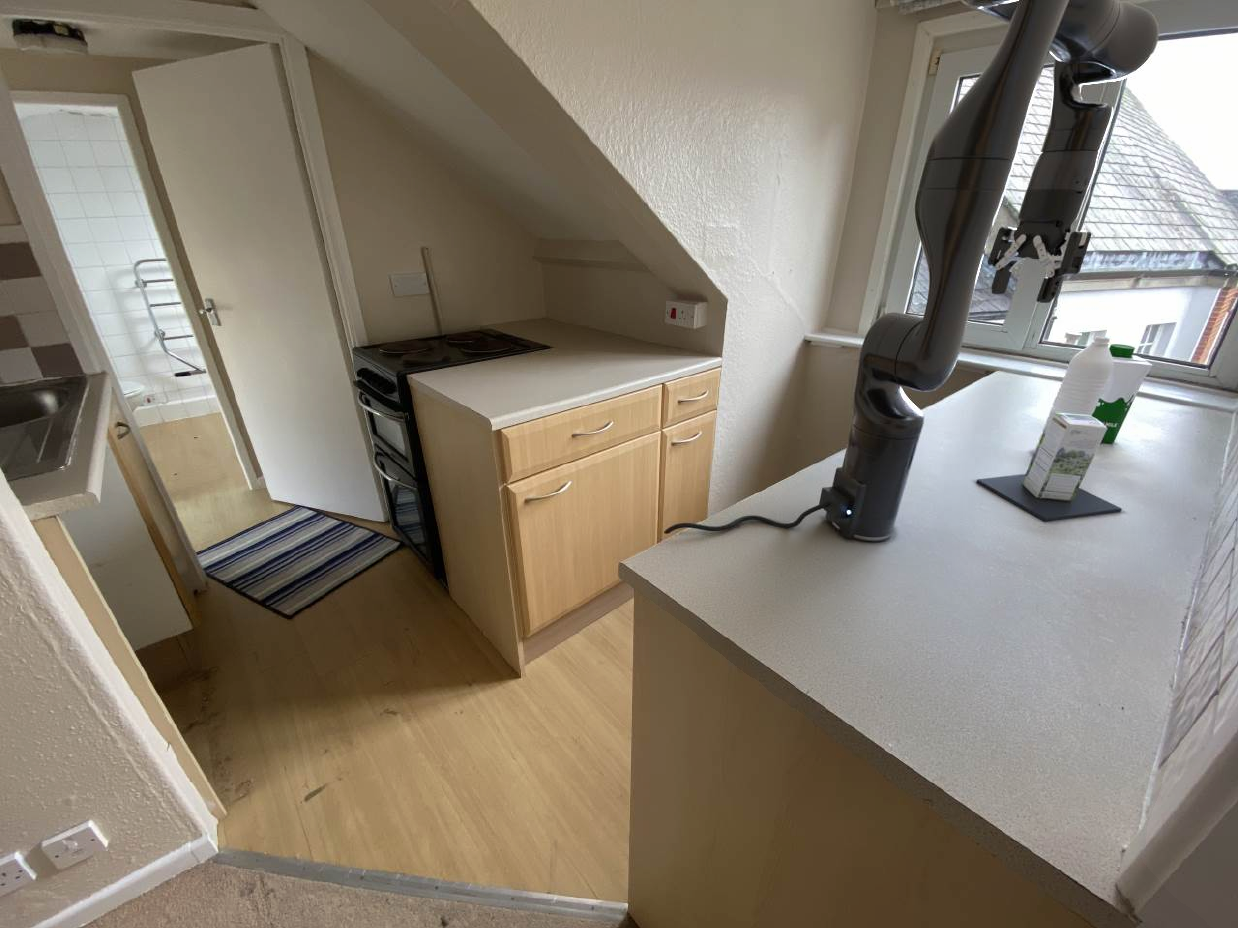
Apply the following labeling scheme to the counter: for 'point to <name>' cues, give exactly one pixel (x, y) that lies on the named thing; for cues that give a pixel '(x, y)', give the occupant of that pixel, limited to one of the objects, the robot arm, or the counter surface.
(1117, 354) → the milk carton
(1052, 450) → the syrup box
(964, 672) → the counter surface
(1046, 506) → the mat
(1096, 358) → the water bottle
